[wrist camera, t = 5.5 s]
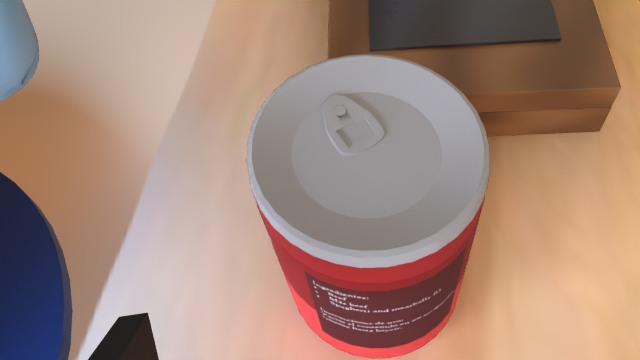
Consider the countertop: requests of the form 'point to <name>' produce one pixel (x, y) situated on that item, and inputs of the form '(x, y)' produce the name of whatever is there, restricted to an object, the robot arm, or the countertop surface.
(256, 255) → the countertop surface
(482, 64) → the wooden picture frame
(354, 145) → the canned food
